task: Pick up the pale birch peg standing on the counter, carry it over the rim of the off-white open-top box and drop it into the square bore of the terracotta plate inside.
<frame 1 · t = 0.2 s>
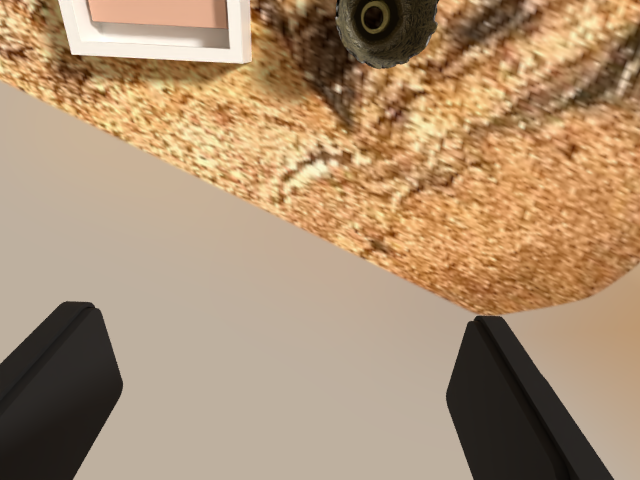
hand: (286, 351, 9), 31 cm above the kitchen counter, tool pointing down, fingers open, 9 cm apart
cup: (373, 18, 32), on the kitchen counter
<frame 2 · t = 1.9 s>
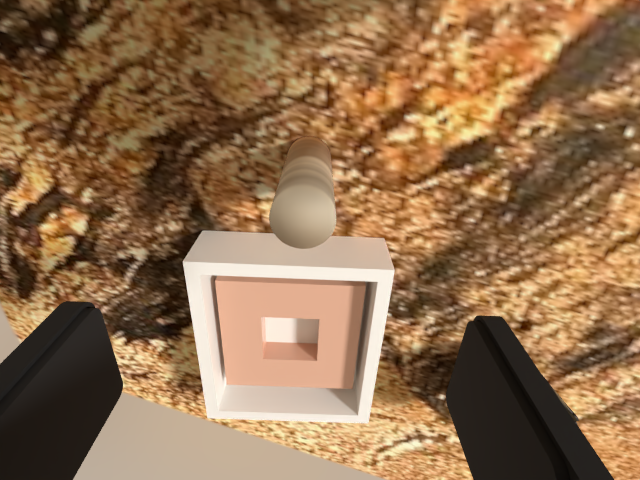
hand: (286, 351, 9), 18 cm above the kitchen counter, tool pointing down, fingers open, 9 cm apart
bored plate: (291, 331, 30), in the open-top box, point 1 cm above the kitchen counter
birch peg: (309, 158, 25), on the kitchen counter
open-top box: (292, 315, 32), on the kitchen counter
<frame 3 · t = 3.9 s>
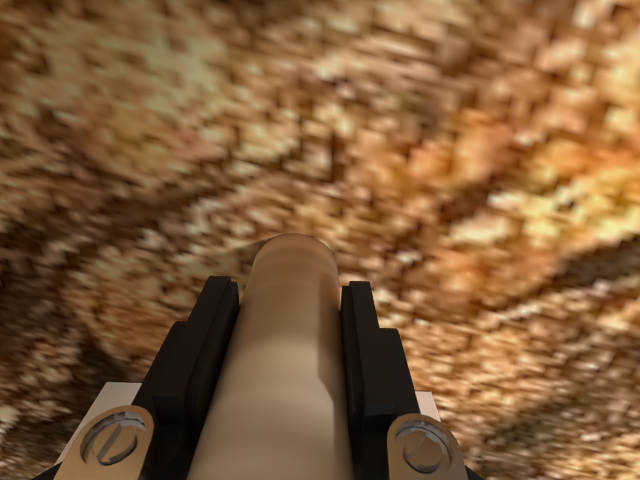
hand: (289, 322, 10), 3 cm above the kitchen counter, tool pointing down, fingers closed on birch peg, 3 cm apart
birch peg: (295, 271, 13), on the kitchen counter, touching gripper
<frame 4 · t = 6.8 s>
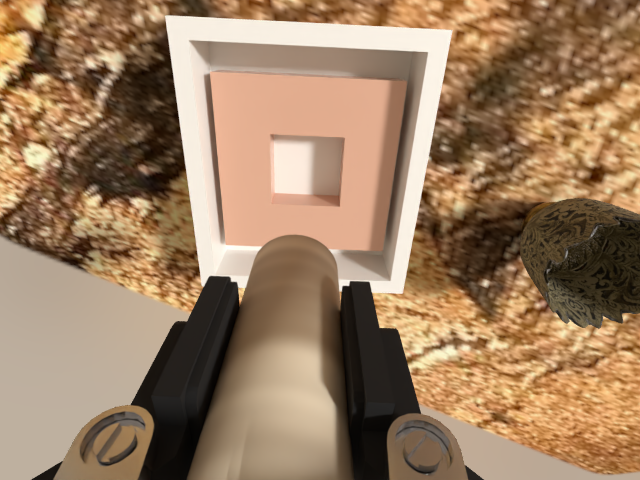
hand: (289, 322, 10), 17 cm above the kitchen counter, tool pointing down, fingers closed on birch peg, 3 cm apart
bored plate: (307, 167, 24), in the open-top box, point 1 cm above the kitchen counter
birch peg: (295, 272, 13), point 14 cm above the kitchen counter, touching gripper
open-top box: (308, 159, 25), on the kitchen counter
cup: (540, 219, 28), on the kitchen counter
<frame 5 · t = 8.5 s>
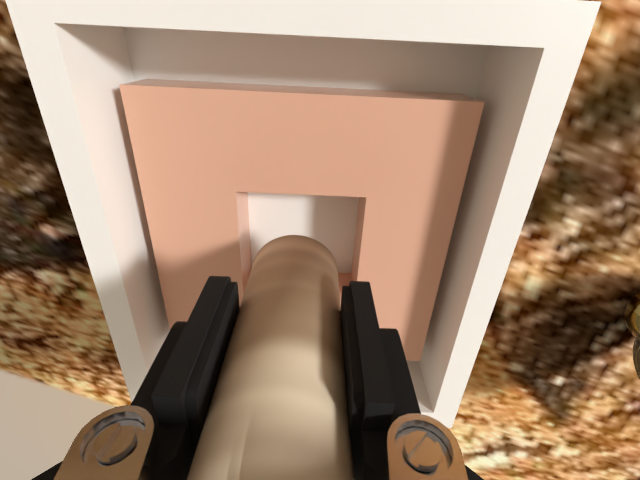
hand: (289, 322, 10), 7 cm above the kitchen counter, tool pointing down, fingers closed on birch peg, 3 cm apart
bored plate: (301, 238, 14), in the open-top box, point 1 cm above the kitchen counter
birch peg: (295, 272, 13), point 4 cm above the kitchen counter, touching gripper
open-top box: (303, 216, 16), on the kitchen counter
when the fingers open (4 cm above the kitchen counter, at t = 9.7 s): birch peg stays where it is, resting on open-top box.
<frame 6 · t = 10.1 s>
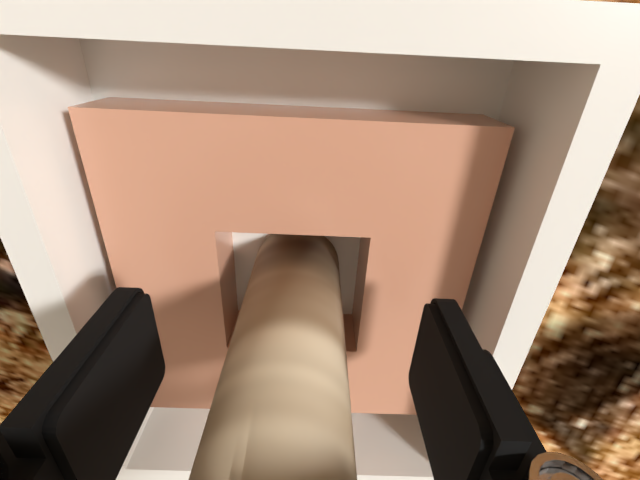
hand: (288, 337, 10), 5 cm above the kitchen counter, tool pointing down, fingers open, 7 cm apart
bored plate: (294, 279, 12), in the open-top box, point 1 cm above the kitchen counter
birch peg: (297, 263, 13), point 1 cm above the kitchen counter, touching open-top box
open-top box: (297, 250, 14), on the kitchen counter
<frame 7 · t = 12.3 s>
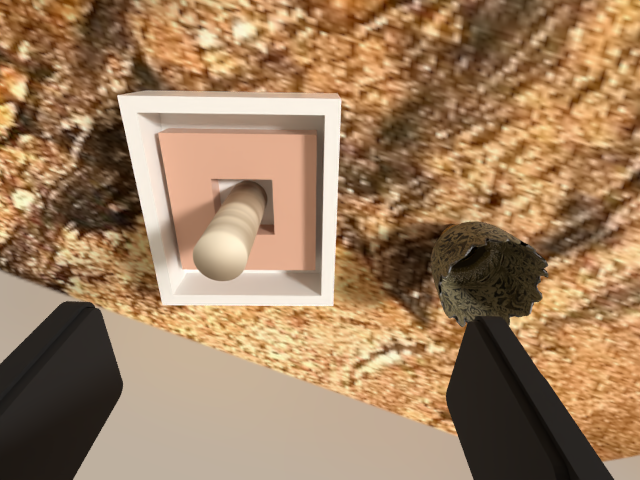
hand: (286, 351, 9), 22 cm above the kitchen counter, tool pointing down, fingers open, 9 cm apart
bored plate: (246, 203, 28), in the open-top box, point 1 cm above the kitchen counter
birch peg: (248, 198, 29), point 1 cm above the kitchen counter, touching open-top box
open-top box: (250, 194, 30), on the kitchen counter
cup: (454, 238, 32), on the kitchen counter
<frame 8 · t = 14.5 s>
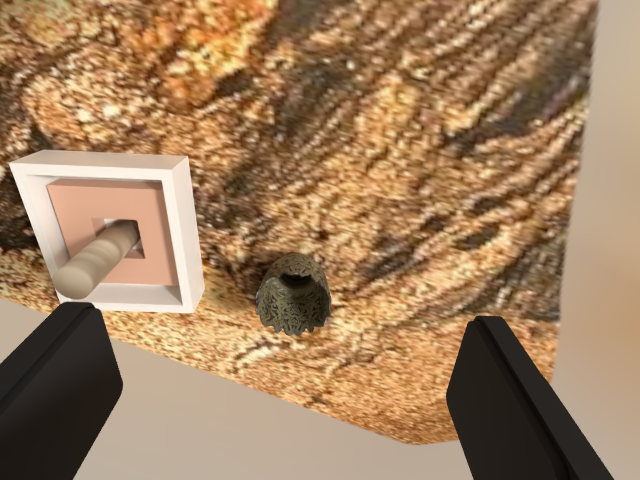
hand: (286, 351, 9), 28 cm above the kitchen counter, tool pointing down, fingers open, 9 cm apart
bored plate: (123, 234, 37), in the open-top box, point 1 cm above the kitchen counter
birch peg: (128, 230, 38), point 1 cm above the kitchen counter, touching open-top box
open-top box: (132, 226, 39), on the kitchen counter
cup: (297, 262, 42), on the kitchen counter
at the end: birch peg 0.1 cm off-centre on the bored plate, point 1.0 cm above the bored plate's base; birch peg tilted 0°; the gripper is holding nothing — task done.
